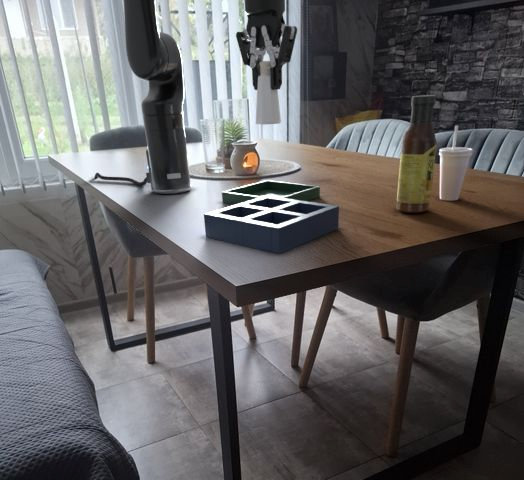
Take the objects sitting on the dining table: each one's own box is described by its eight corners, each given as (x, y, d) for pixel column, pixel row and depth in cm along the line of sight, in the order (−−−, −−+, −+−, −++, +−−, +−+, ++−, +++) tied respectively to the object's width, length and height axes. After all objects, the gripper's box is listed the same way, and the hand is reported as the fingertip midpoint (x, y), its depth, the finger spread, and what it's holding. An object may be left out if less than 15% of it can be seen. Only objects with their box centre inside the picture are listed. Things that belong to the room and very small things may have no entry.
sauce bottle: (430, 214, 91) (445, 95, 81) (396, 214, 92) (407, 97, 82) (427, 206, 96) (441, 94, 87) (394, 206, 98) (405, 95, 88)
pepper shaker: (285, 122, 100) (285, 60, 95) (274, 124, 96) (272, 60, 91) (263, 122, 103) (261, 61, 97) (250, 124, 99) (247, 61, 93)
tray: (222, 202, 107) (221, 191, 106) (267, 189, 117) (267, 180, 116) (276, 211, 98) (275, 199, 97) (319, 196, 108) (320, 186, 107)
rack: (205, 237, 84) (203, 213, 82) (267, 216, 95) (266, 195, 93) (279, 254, 74) (278, 228, 72) (338, 229, 85) (339, 205, 83)
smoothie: (428, 196, 104) (437, 125, 97) (457, 194, 104) (468, 123, 98) (440, 202, 98) (450, 127, 92) (470, 201, 99) (483, 126, 92)
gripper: (307, -21, 86) (307, 88, 95) (249, -11, 95) (253, 89, 103) (281, -26, 81) (283, 90, 90) (222, -14, 90) (228, 91, 98)
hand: (267, 89), depth 96 cm, fingers closed on pepper shaker, 4 cm apart
